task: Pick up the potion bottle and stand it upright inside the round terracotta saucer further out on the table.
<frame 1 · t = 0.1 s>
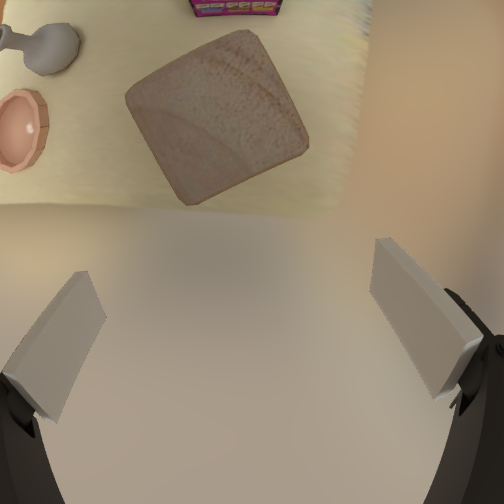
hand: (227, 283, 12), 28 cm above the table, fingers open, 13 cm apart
wooden block: (227, 119, 34), on the table
candy bar box: (236, 2, 26), on the table
potion bottle: (63, 51, 26), on the table
saucer: (20, 129, 30), on the table
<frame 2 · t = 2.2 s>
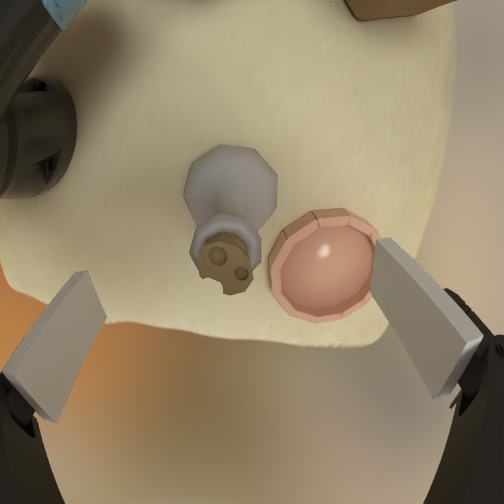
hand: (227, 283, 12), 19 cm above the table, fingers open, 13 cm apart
potion bottle: (232, 182, 29), on the table
saucer: (326, 264, 33), on the table
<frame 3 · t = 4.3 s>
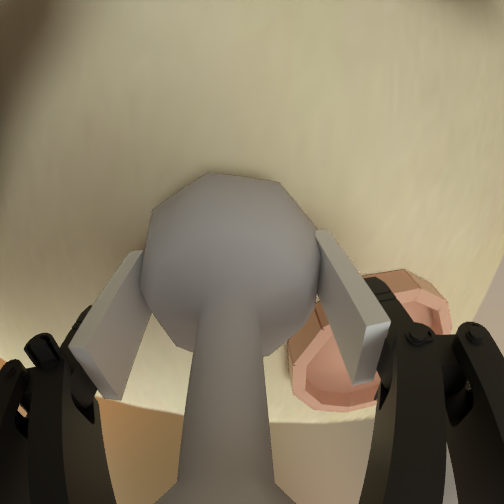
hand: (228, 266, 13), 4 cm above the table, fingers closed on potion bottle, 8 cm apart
potion bottle: (233, 233, 17), on the table, touching gripper
saucer: (369, 343, 21), on the table
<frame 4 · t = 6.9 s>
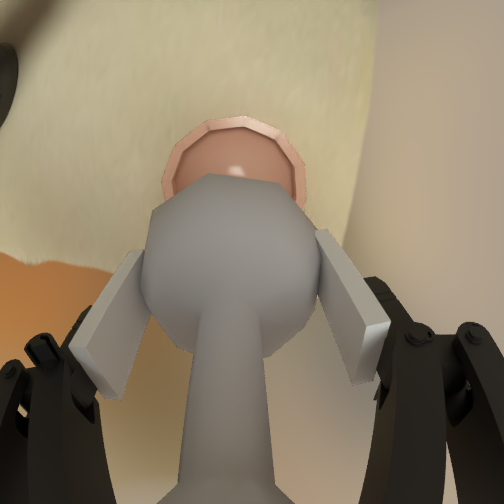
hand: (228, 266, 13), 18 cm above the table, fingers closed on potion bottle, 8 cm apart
potion bottle: (233, 233, 17), point 14 cm above the table, touching gripper
saucer: (234, 183, 29), on the table
when the fingers open (6 cm above the table, at t = 9.8 s): potion bottle drops 1 cm, resting on saucer.
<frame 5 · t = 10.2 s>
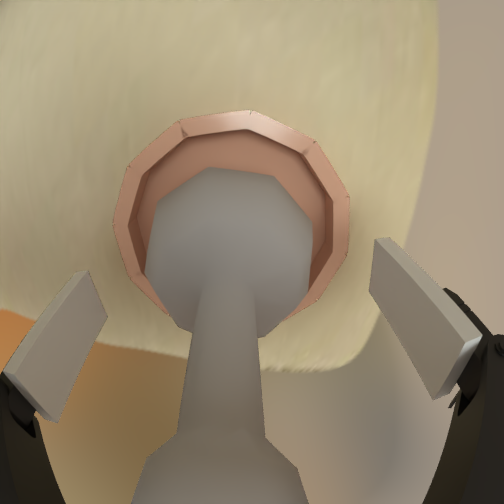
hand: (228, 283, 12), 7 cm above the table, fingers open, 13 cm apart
potion bottle: (232, 225, 18), point 1 cm above the table, touching saucer
saucer: (231, 223, 18), on the table
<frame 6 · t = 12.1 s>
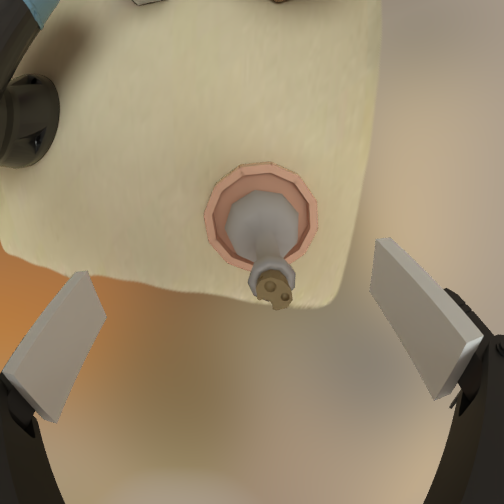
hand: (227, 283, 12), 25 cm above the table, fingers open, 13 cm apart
potion bottle: (261, 216, 36), point 1 cm above the table, touching saucer
saucer: (261, 215, 37), on the table
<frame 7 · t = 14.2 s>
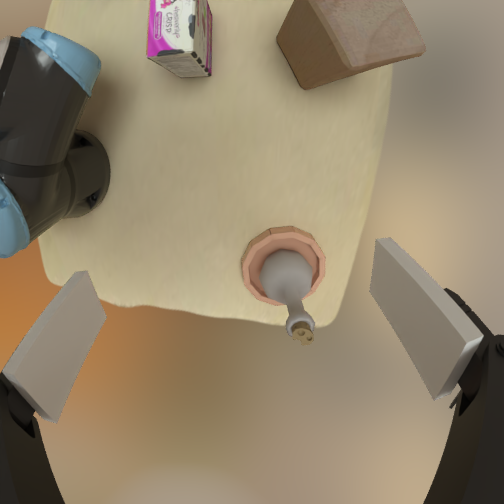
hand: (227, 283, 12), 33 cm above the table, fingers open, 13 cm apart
wooden block: (316, 54, 34), on the table
candy bar box: (195, 46, 32), on the table
potion bottle: (283, 265, 48), point 1 cm above the table, touching saucer
saucer: (282, 264, 49), on the table
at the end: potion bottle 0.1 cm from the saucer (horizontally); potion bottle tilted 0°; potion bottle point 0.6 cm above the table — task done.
